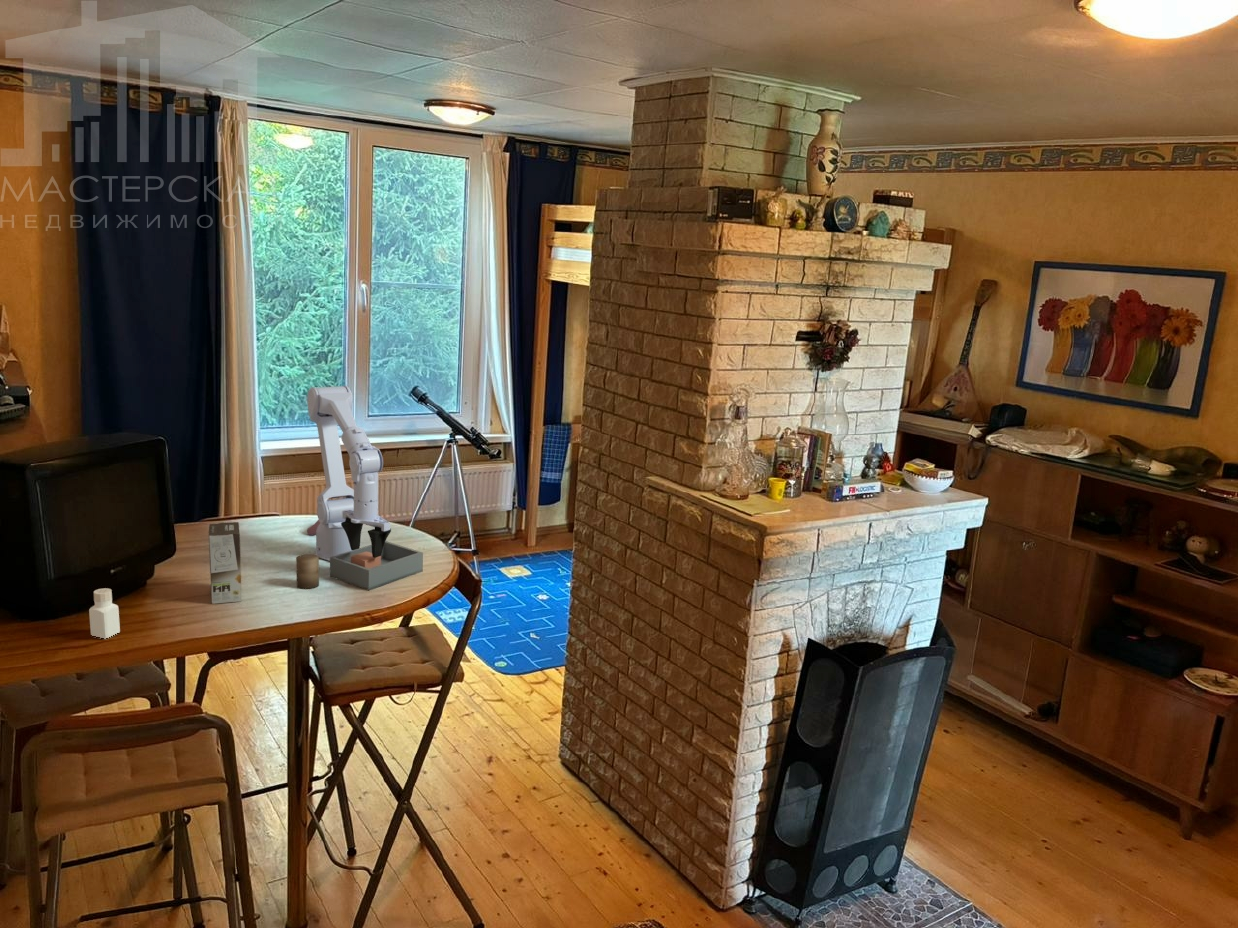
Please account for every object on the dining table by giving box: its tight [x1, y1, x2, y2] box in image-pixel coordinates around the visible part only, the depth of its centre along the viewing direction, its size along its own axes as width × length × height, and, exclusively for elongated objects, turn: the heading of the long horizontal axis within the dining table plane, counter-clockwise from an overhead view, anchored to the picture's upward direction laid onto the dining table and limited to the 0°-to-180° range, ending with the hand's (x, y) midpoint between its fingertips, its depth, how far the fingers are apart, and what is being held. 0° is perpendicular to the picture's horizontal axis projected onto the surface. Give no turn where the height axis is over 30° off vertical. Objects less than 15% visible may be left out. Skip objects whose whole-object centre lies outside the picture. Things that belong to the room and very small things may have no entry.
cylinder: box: [295, 553, 320, 590], centre depth 220 cm, size 5×5×7 cm
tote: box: [329, 540, 424, 591], centre depth 230 cm, size 14×18×5 cm
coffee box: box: [208, 521, 242, 605], centre depth 210 cm, size 9×6×16 cm
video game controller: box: [306, 519, 320, 536], centre depth 259 cm, size 10×5×7 cm, turn 169°
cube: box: [351, 551, 381, 569], centre depth 227 cm, size 5×5×5 cm
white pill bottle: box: [88, 587, 121, 640], centre depth 187 cm, size 4×4×10 cm
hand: (366, 552), depth 226 cm, fingers open, 7 cm apart
